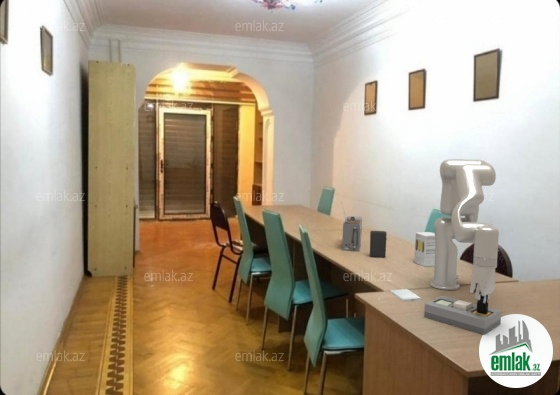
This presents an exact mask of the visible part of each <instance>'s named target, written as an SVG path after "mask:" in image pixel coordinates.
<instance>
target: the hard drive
mask: <svg viewBox="0 0 560 395" xmlns="http://www.w3.org/2000/svg"><path fill="white" fill-rule="evenodd" d="M389 292H390V293H391V294H392V295H394V296H395V297H396V298H398V300H400V301H402V302H417V301H418V302H422V301H423V299H422V297H420V296H419V295H417V294H415V293H414V292H413V291H411V290H409V289H407V288H401V289H391V290H389Z"/></svg>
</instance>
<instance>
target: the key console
mask: <svg viewBox="0 0 560 395" xmlns="http://www.w3.org/2000/svg"><path fill="white" fill-rule="evenodd" d="M440 300H443V301H447V302H451V303H453V304H454V302H456V301H458V300H459V299H458V298H454V297H450V296H445V295H441V296H438V297H437V298H434V299H432V300H430V301H428V302H426V303H424V310H423V311H424V312H423V316H424V318H427V317H428V318H427V319H430V318H431V319H430V320H433V319H434V321H436V322H440V323H443V322H444V324H447V325H451V326H453V325H454V327H458V328H460V329H463V328H464V330H467V329H468V330H467V331H470V330H471V332H473V331H474V333H477V334H481V335H484V336H485V335H486V334H488V333H489V332H491V331H492V330H494V329H495V328H497V327H498V326H500V325H501V323H502V322H501V321H502V310H501V309H497V308H494V307H489V306H488V312H489V313H491V315H489V316H483V315H479V314H475V313H473V312H474V311H476V310H477V303H473V302H469V301H468V302H469V303H472V306H471V309H470V310H468V311H464V310H461V309H457V308H453V304H451V305H449V306H446V305H442V304H438V303H436V302H438V301H440ZM460 300H461V301H463V300H462V299H460ZM464 301H465V300H464ZM465 302H467V301H465Z"/></svg>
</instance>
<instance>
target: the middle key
mask: <svg viewBox="0 0 560 395" xmlns="http://www.w3.org/2000/svg"><path fill="white" fill-rule="evenodd" d="M461 300H462V299H458V301H456V302H454V304H453V308H457V309H461V310H464V311H468V310H470V309H471V306H472V303H473V302H470V303H469V301H466V302H465V300H462V301H461Z"/></svg>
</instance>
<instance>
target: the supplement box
mask: <svg viewBox="0 0 560 395" xmlns="http://www.w3.org/2000/svg"><path fill="white" fill-rule="evenodd" d="M414 242H415V244H414V262H413V263H415V264H416V265H417V264H418V265H420V266H422V267H423V268H425V267H434V265H435V232H432V231H431V232H430V231H423V232H420V231H419V232H417V231H416V232H415V240H414Z"/></svg>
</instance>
